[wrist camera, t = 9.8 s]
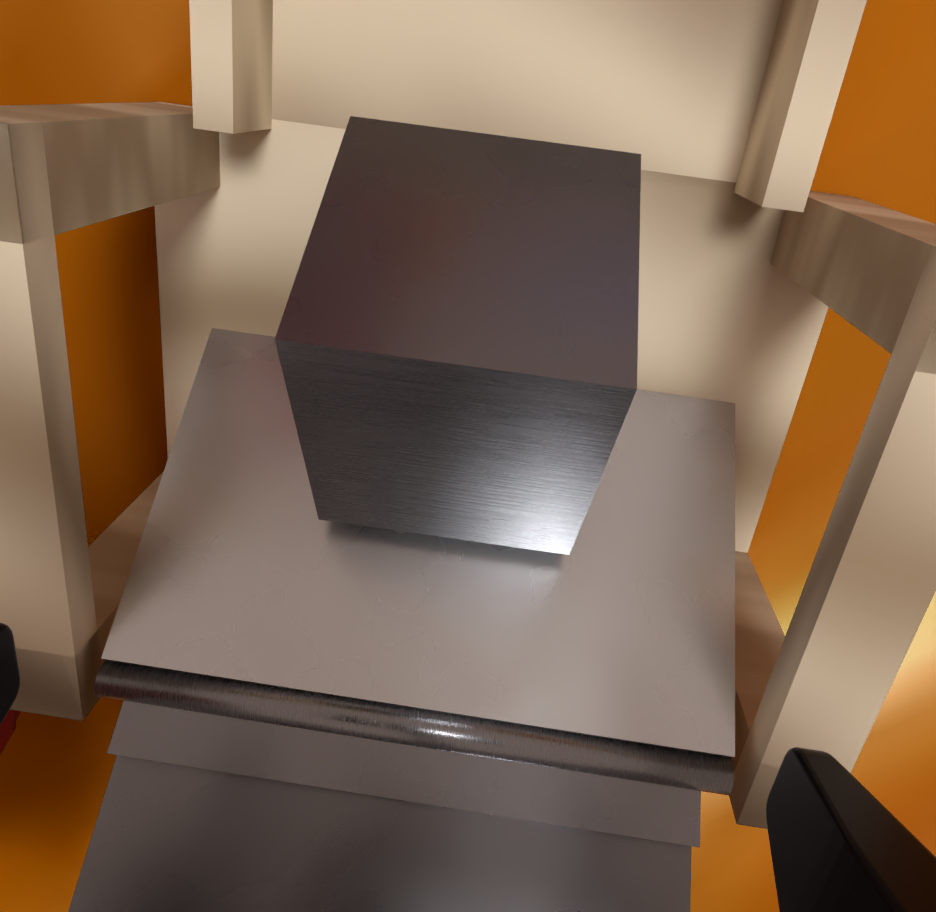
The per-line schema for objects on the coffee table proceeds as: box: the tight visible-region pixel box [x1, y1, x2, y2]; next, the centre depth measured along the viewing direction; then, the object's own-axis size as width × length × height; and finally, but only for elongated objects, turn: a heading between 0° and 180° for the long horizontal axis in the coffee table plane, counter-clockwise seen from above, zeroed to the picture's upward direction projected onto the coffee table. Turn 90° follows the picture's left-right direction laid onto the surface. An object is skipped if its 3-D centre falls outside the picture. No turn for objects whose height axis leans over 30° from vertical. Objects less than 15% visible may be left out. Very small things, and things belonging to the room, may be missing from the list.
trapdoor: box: [68, 328, 735, 912], centre depth 18 cm, size 13×12×6 cm
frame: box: [0, 0, 936, 829], centre depth 14 cm, size 21×16×8 cm
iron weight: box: [275, 116, 641, 555], centre depth 14 cm, size 5×5×6 cm
